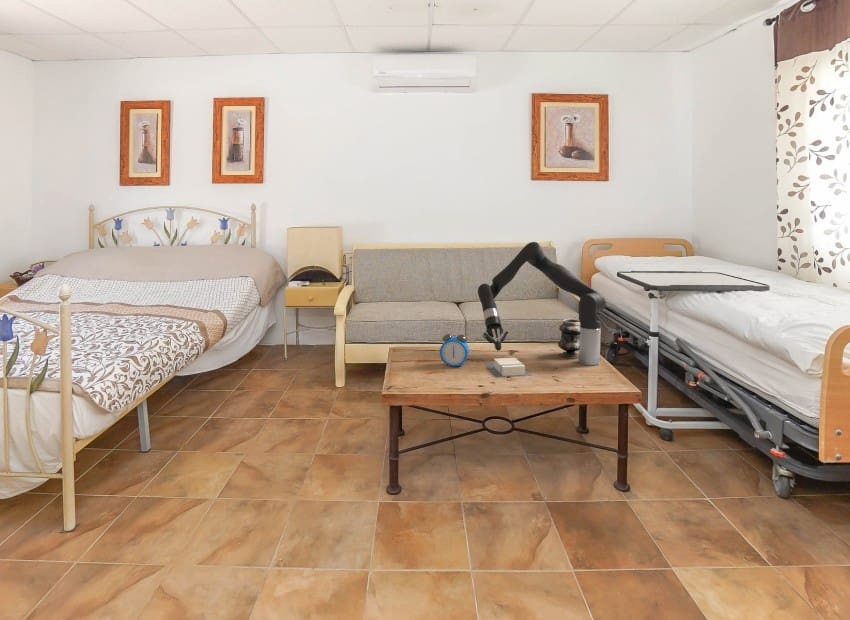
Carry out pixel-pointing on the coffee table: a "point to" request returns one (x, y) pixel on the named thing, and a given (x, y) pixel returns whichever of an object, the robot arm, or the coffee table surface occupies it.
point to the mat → (497, 374)
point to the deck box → (509, 366)
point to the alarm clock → (454, 350)
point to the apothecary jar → (570, 338)
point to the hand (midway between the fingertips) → (498, 349)
